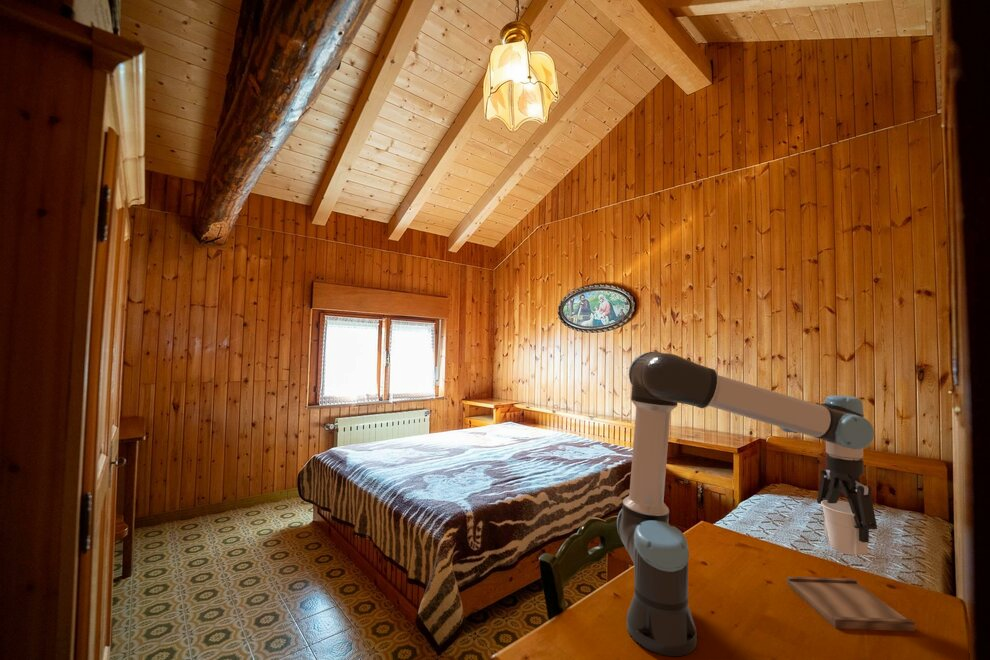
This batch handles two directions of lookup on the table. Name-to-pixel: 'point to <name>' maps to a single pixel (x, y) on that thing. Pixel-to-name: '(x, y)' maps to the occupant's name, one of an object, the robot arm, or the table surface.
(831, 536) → the cup
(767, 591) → the table surface
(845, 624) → the board
